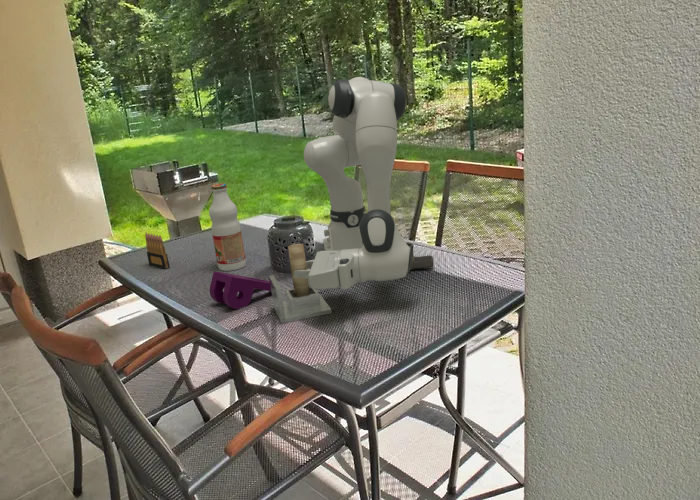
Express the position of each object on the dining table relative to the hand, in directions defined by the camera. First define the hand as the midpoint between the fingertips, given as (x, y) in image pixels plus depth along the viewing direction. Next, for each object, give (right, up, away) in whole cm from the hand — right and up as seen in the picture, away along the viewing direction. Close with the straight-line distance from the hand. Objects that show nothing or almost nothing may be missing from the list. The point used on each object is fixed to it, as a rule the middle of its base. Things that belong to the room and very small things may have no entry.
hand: (295, 270), depth 155 cm
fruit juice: (-25, -1, +46) cm, 53 cm away
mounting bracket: (-15, -9, +16) cm, 23 cm away
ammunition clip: (-53, -1, +55) cm, 76 cm away
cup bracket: (+2, -10, +3) cm, 11 cm away
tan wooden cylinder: (+2, -8, +2) cm, 9 cm away
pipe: (+33, -1, +25) cm, 41 cm away
